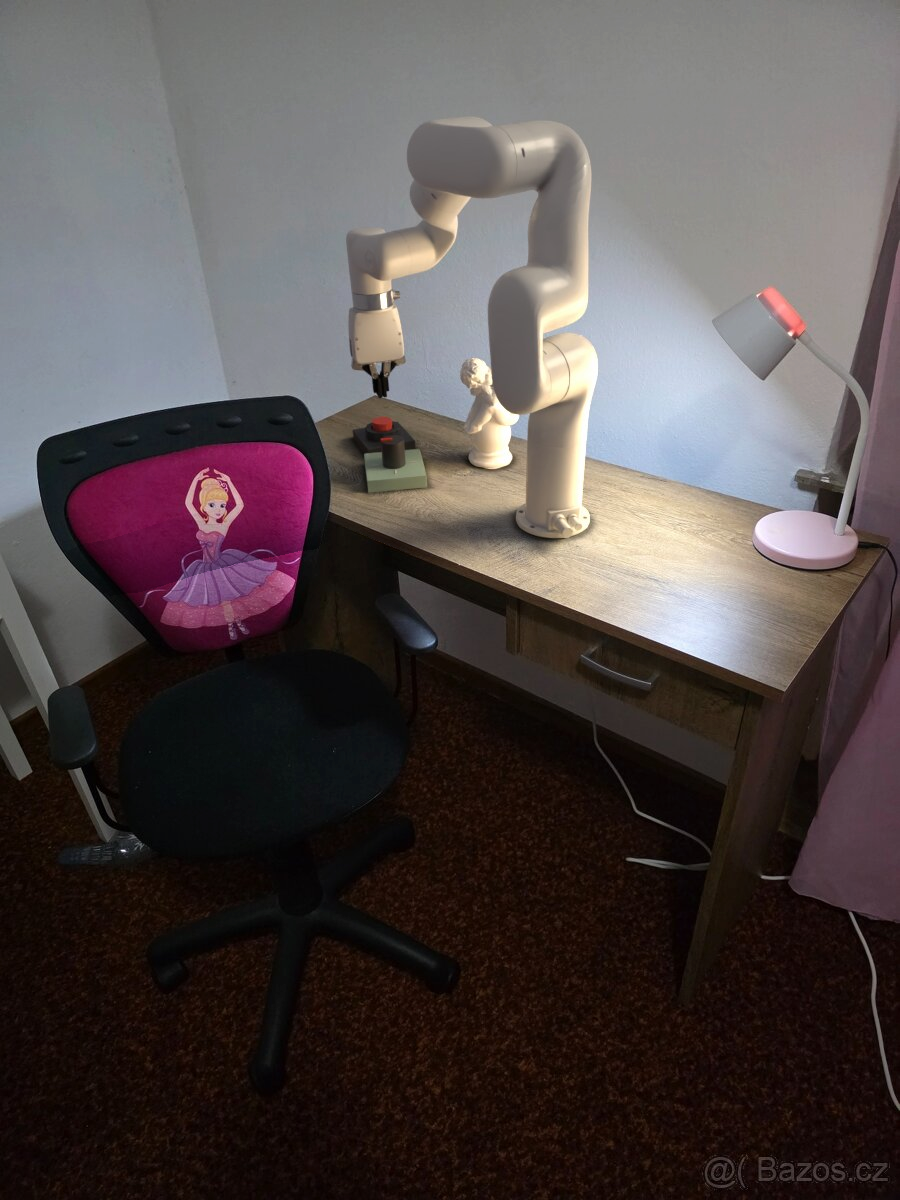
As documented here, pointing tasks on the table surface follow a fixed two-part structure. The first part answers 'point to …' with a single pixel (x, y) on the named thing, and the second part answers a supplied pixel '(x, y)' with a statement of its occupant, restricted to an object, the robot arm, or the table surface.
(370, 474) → the console
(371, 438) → the button box
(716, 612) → the table surface
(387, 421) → the button
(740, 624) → the table surface
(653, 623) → the table surface
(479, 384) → the cherub figurine
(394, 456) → the dial
